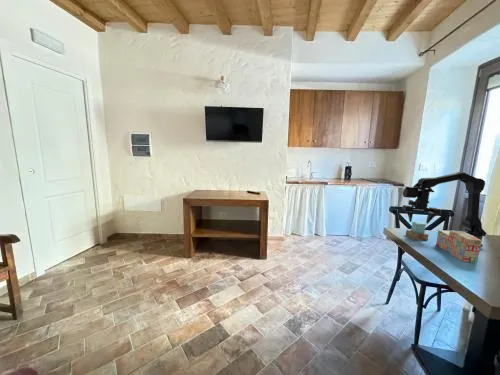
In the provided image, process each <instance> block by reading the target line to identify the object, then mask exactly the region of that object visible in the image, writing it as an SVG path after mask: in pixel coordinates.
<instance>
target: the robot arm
mask: <svg viewBox="0 0 500 375" xmlns="http://www.w3.org/2000/svg"><path fill="white" fill-rule="evenodd" d="M458 180H459V181H461V182H462V183H464V184H465V189H466V191H467V193H468V194H467V209H466V210H467V211H466V216H465V217H462V218H461V225H462V227H463V229H464V232H465V233H468V234H470V235H472V236H475V237H477V238H478V239H480V240H482V241H483V237H486V235H487V231H485V230H484V228H483V225H482V222H481V219H480V217H479V215H480V214H479V213H480V201H481V193H482V192H483V191H484V189H485V186H486V181H485V180H484V179H483V178H477V177H475V176H474V175H473V176H472V175H470V174H468V173H466V172H463V171H462V172H461V171H457V172H455V173H454V172H453V173H450V174H446V175H440V176H437V177H435V176H434V177H422V178H419V179H418V181H417V183H415V184H414V185H413V186H405V188H403V191H402V197H403V198H408V199H409V198H410V199H409V200H408V205H407V204H406V205H405V204H404V205H402V207H401V209H402V210H403V211H404V212H405V213H406V214H407V217H408V221H409V222H410V223H412V222H413V221H412V219H413V215H414V211H416V212H417V211H418V212H427V216H426V222H425V223H426V224H427V225H428V224H429V223H430V222H431V221H432V220H433V219H434V218H435V217H436V216H439V215H441V213H442V211H441V209H440V208H437V207H428V204H430V201H429V200H430V199H429V198H430V193H435V191H434V190H433V187H436V186H437V185H441V184H445V183H450V182H455V181H458ZM412 199H413V200H412ZM414 199H415V200H414ZM482 246H484V245H483V244H482V243H481V247H482Z"/></svg>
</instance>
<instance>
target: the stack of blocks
mask: <svg viewBox="0 0 500 375" xmlns="http://www.w3.org/2000/svg"><path fill="white" fill-rule="evenodd" d="M436 238H437V239H436V246H438V247H439V248H440V249H442V250H444V251H445V252H447V253H448V254H450V255H452V256H453V257H455V258H456V259H457V260H459V261H461V262H462V263H471V264H477V263H478V261H479V255H480V252H481V247H482V246H481V244H482V242H483V239H482V240H480V239H478V238H477V237H475V236H472V235H470V234H468V233H466V231H462V230H454V229H453V230H451V229H450V230H443V229H438V231H437V237H436Z"/></svg>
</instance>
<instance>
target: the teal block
mask: <svg viewBox="0 0 500 375" xmlns="http://www.w3.org/2000/svg"><path fill="white" fill-rule="evenodd" d="M426 224H427V223H426ZM426 224H425V223H424V222H422V221H416V220H415V221H411V229H410V230H412V231H413V232H415V233H421V234H424V233H426V232H425V230H426V226H427V225H426Z"/></svg>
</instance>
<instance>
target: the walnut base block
mask: <svg viewBox="0 0 500 375" xmlns="http://www.w3.org/2000/svg"><path fill="white" fill-rule="evenodd" d="M405 236H407V237H409V238H410V239H413V240H415V241H428V240H429V234H428V233H426V232H424V234H421V233H415V232H413V231H412V230H411V229H405Z"/></svg>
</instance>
